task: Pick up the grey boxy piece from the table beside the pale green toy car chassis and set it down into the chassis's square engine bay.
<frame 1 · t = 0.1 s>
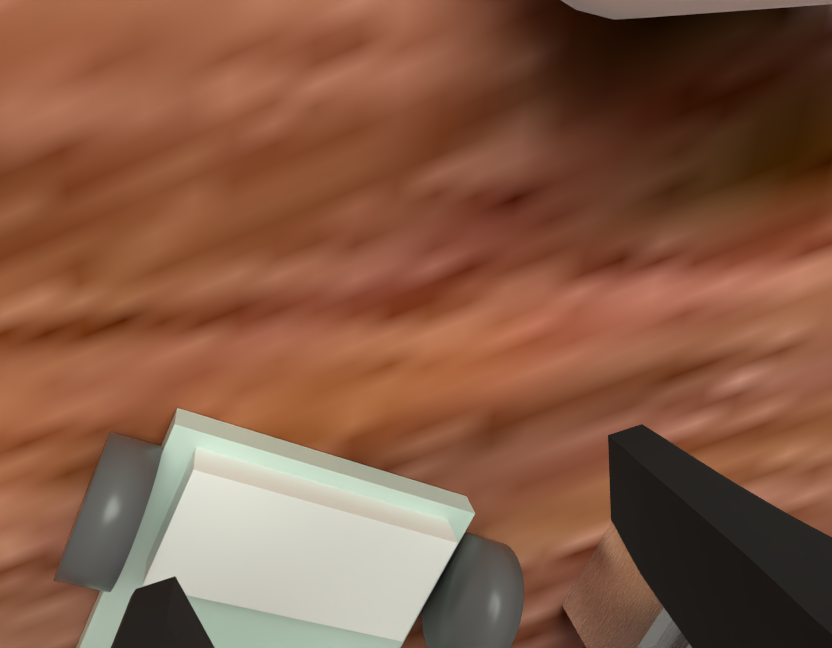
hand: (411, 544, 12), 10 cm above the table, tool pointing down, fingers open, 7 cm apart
grey boxy piece: (630, 569, 28), on the table
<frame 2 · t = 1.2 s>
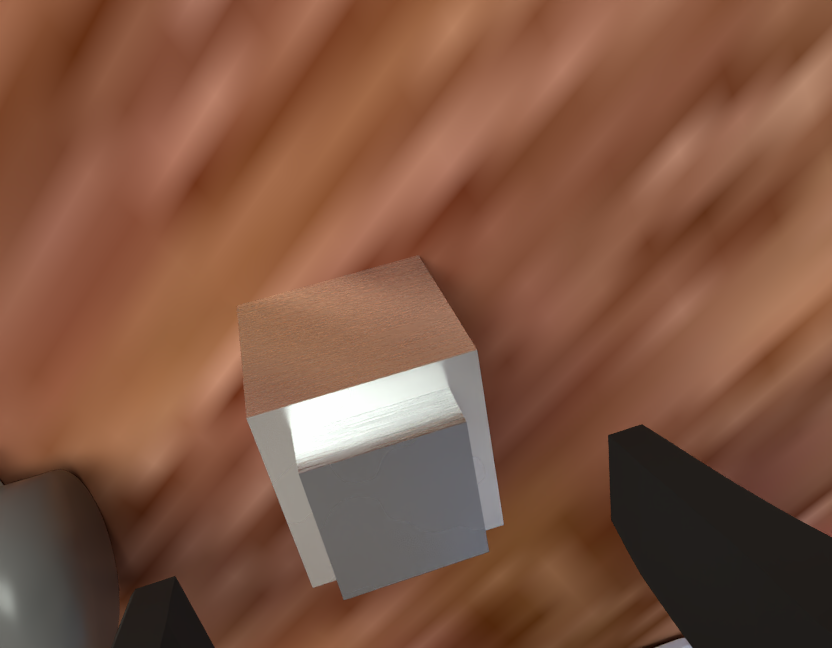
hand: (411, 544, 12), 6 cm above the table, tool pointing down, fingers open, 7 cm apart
grey boxy piece: (351, 361, 16), on the table
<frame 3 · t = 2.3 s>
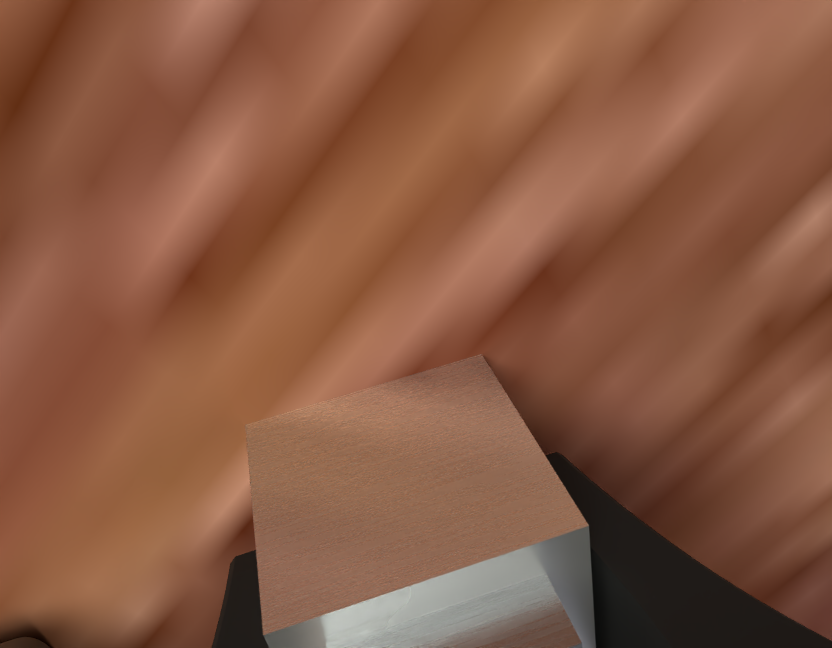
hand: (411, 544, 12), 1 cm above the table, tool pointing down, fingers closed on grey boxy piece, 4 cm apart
grey boxy piece: (390, 481, 13), on the table, touching gripper
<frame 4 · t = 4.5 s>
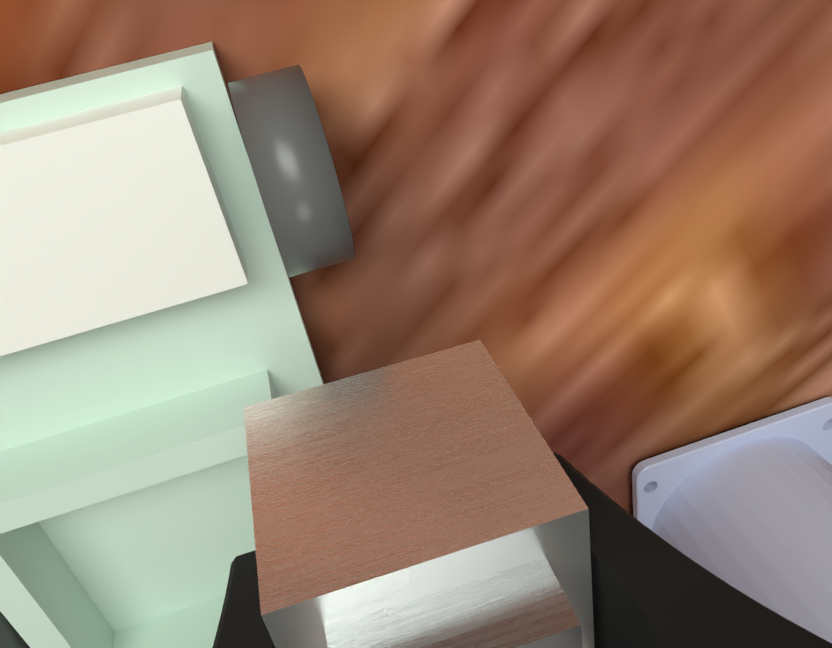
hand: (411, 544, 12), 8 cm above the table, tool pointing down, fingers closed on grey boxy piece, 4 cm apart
chassis: (127, 407, 19), on the table
grey boxy piece: (388, 469, 13), point 7 cm above the table, touching gripper
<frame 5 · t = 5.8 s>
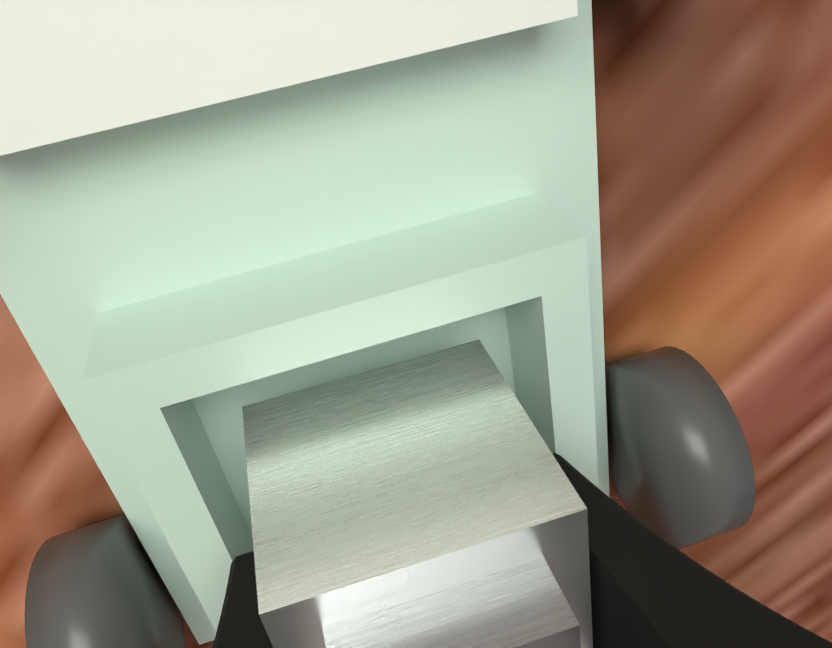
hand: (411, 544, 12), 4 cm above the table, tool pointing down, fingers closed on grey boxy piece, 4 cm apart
chassis: (323, 252, 13), on the table
grey boxy piece: (387, 469, 13), point 3 cm above the table, touching gripper
when the fingers open (4 cm above the table, at t = 6.2 s): grey boxy piece drops 1 cm, resting on chassis.
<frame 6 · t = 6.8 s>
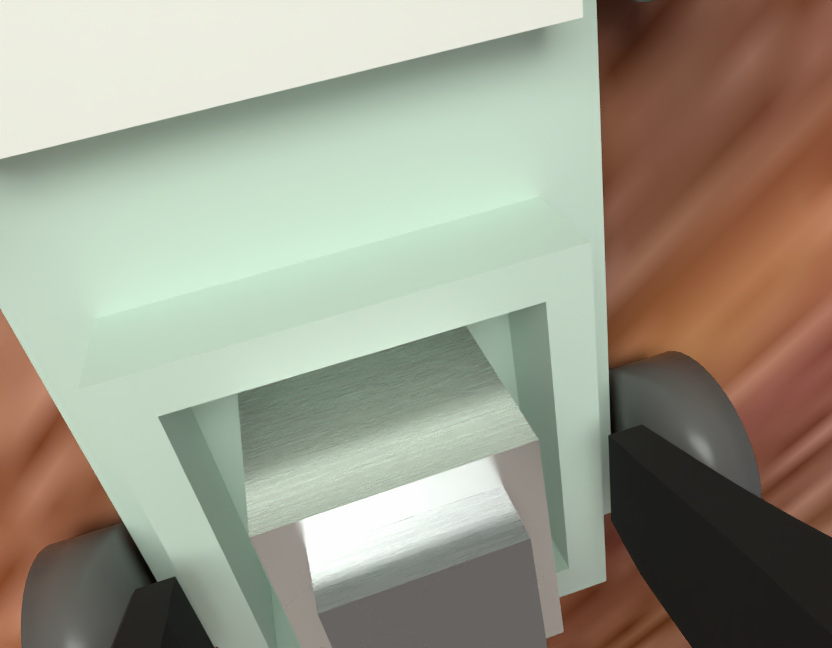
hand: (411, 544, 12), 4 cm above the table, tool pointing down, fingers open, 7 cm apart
chassis: (324, 256, 13), on the table
grey boxy piece: (372, 426, 14), point 1 cm above the table, touching chassis
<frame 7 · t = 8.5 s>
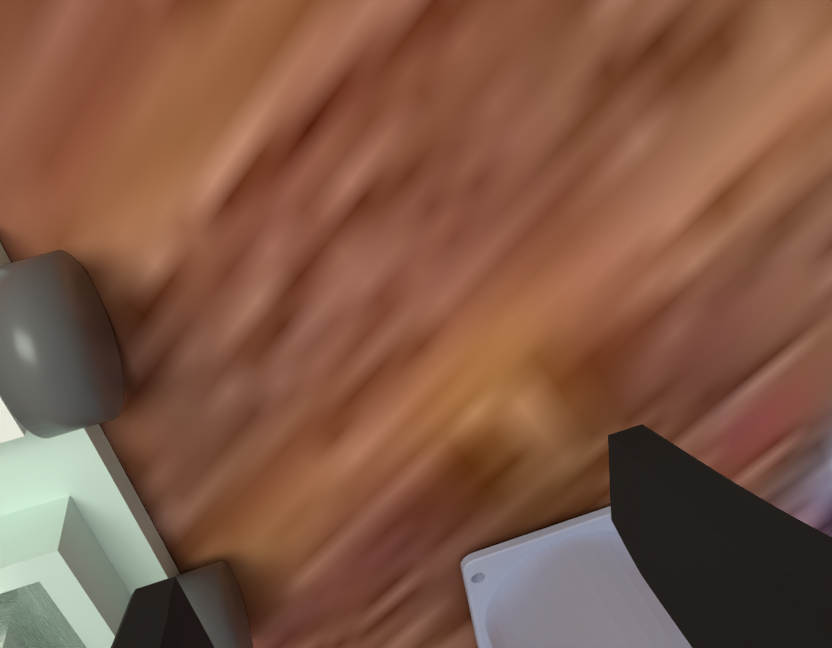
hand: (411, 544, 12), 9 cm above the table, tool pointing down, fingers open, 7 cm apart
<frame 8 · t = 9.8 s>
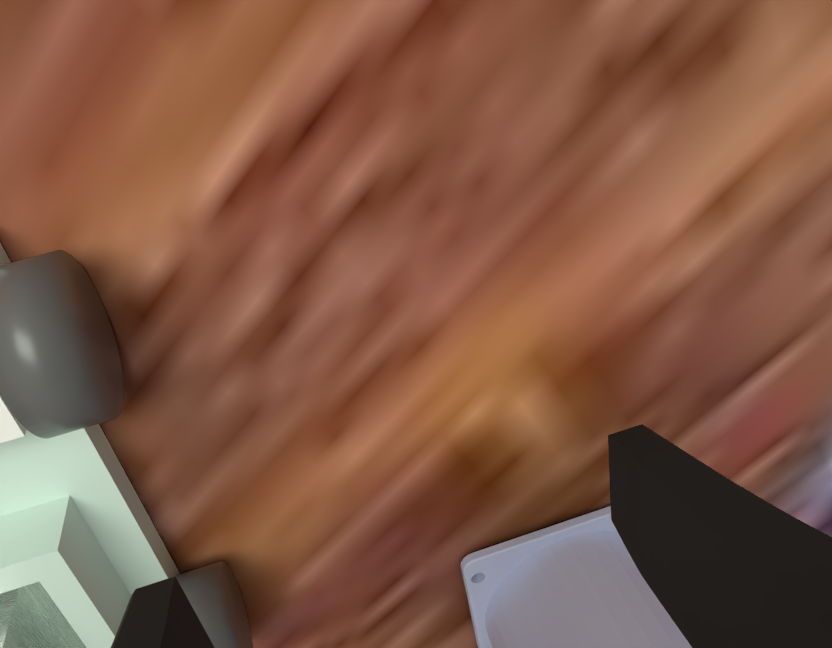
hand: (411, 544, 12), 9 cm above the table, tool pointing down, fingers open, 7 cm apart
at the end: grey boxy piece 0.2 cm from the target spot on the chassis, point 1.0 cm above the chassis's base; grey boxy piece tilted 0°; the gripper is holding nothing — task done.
